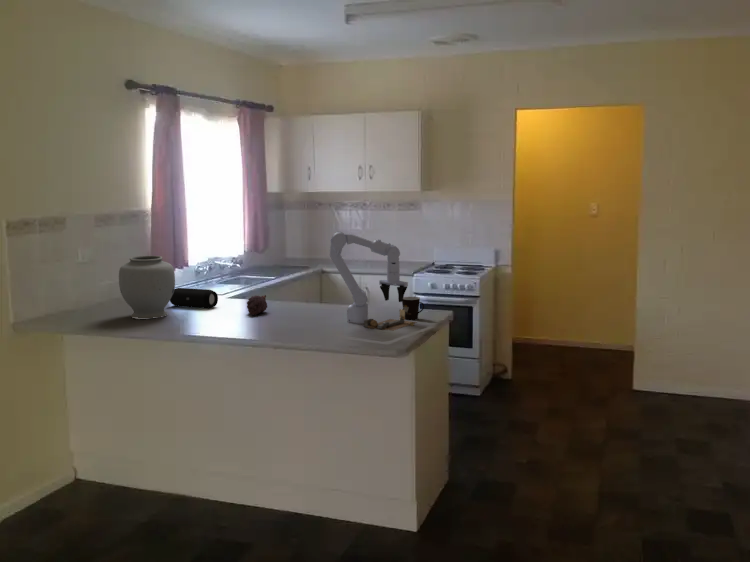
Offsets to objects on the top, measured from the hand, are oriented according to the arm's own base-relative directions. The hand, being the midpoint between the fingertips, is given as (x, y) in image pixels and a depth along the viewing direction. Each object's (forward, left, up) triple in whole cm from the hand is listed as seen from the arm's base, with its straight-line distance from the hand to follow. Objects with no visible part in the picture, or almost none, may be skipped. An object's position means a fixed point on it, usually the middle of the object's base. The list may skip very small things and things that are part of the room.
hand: (393, 301), depth 343 cm
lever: (+5, -10, -9) cm, 14 cm away
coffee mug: (+3, +11, -11) cm, 16 cm away
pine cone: (-73, -15, -11) cm, 76 cm away
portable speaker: (-116, -18, -11) cm, 118 cm away
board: (+5, -8, -10) cm, 14 cm away
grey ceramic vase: (-116, -47, -11) cm, 126 cm away
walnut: (0, -16, -9) cm, 19 cm away
